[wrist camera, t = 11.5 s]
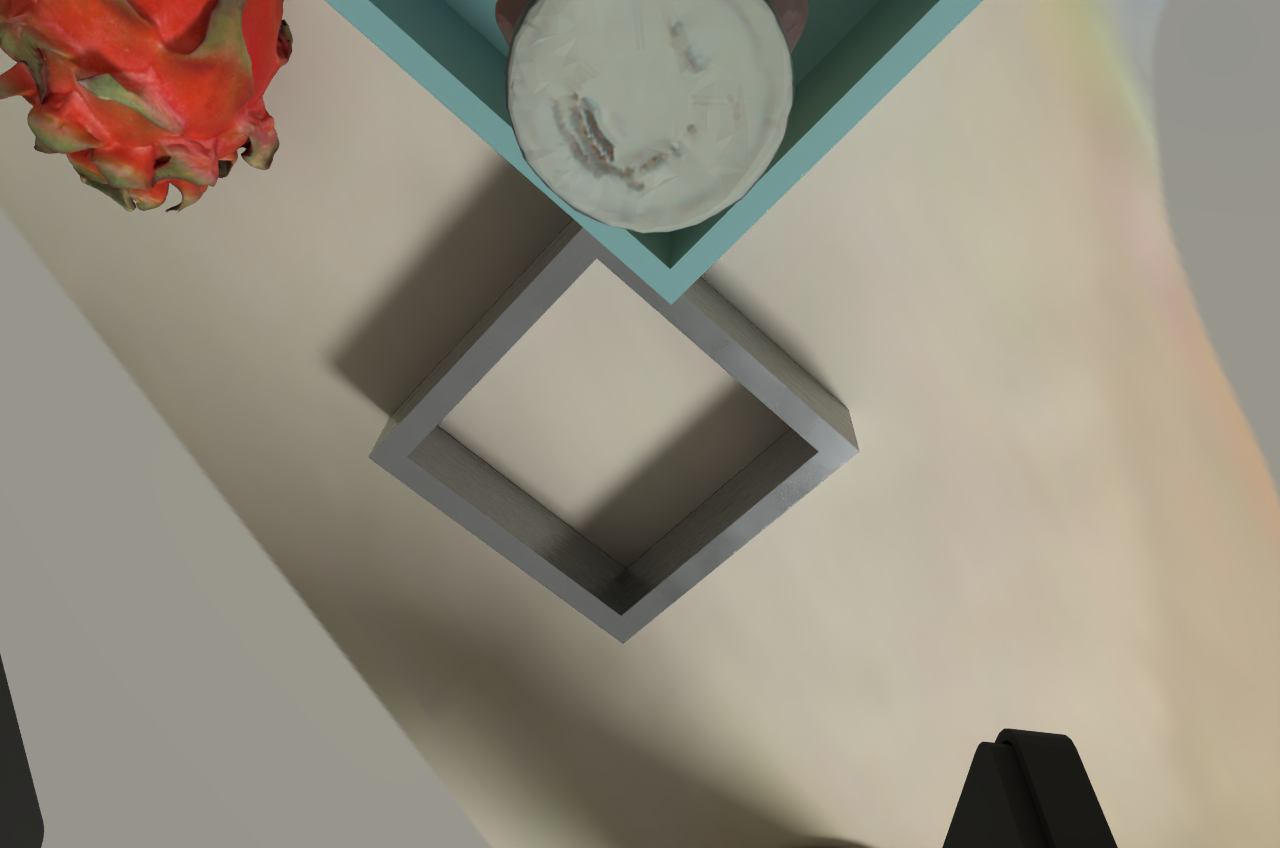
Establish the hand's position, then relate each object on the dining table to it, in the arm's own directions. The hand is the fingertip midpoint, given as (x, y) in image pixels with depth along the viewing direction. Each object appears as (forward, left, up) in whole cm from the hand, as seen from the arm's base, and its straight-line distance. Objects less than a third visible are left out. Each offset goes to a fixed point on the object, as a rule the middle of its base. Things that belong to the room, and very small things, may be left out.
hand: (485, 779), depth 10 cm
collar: (-7, +9, -28) cm, 30 cm away
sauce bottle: (+3, -4, -28) cm, 28 cm away
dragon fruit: (+13, +7, -28) cm, 32 cm away
